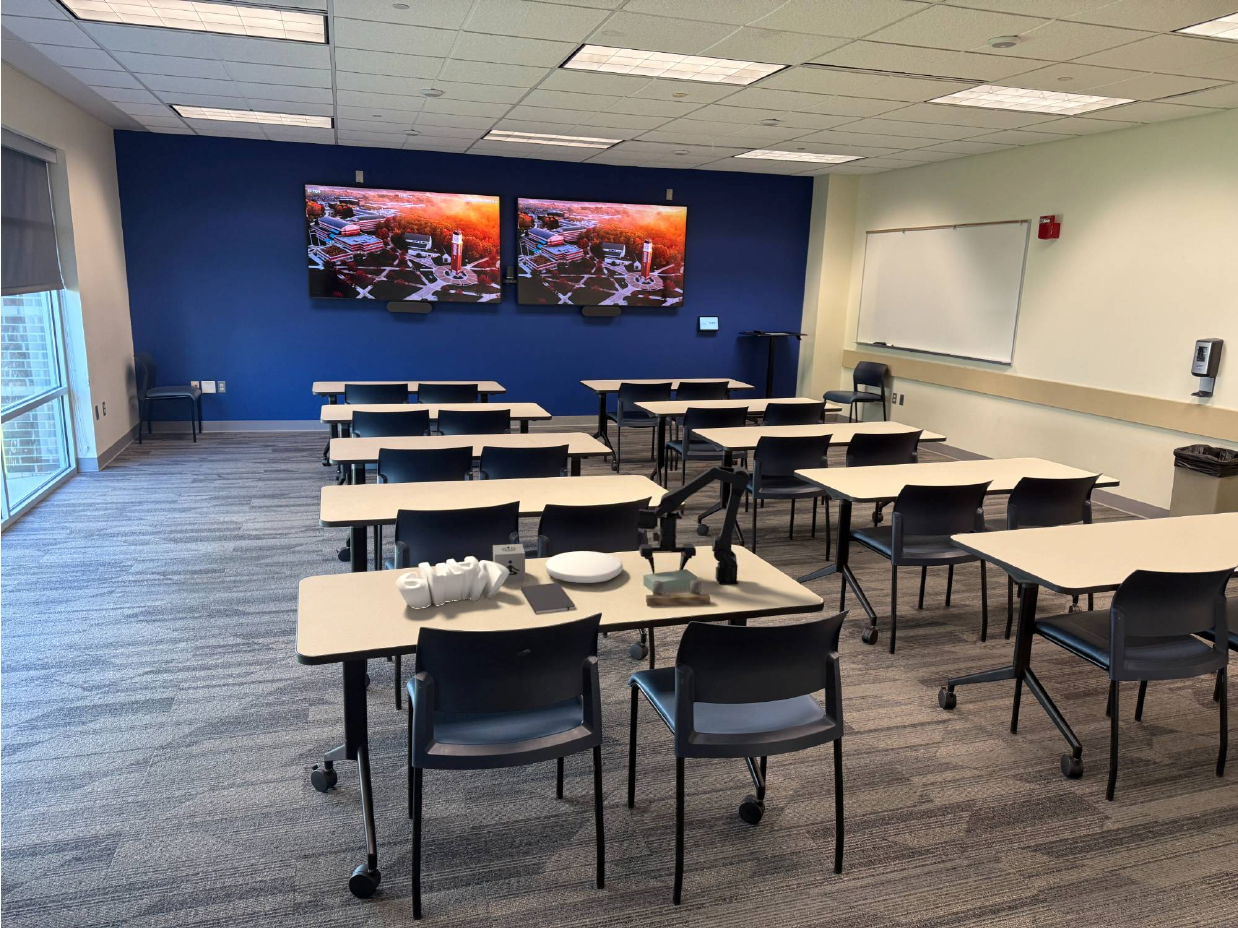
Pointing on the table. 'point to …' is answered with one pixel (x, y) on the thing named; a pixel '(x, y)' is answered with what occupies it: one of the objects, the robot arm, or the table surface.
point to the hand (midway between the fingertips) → (666, 574)
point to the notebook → (547, 598)
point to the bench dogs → (677, 596)
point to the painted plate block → (670, 580)
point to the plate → (583, 567)
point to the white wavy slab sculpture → (451, 582)
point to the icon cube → (511, 560)
